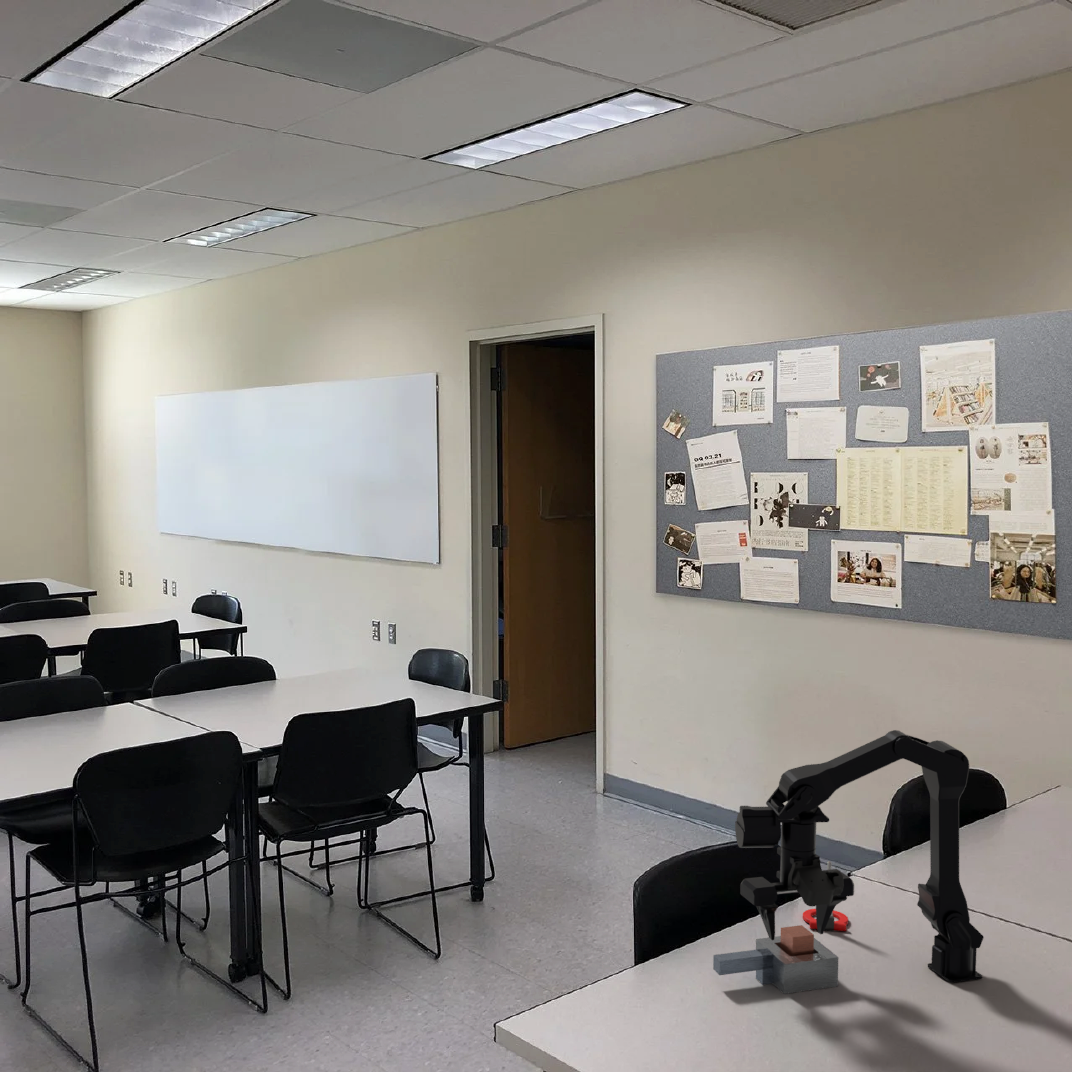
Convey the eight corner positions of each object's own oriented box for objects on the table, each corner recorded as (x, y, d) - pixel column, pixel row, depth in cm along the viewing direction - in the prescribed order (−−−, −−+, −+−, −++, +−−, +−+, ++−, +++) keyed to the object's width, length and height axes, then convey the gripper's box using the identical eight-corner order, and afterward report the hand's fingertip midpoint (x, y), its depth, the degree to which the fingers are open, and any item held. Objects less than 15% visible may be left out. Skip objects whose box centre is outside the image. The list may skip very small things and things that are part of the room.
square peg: (800, 970, 190) (801, 925, 189) (812, 980, 186) (813, 934, 186) (779, 973, 189) (780, 927, 188) (791, 983, 185) (792, 937, 184)
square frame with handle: (807, 960, 194) (807, 932, 193) (837, 986, 184) (838, 957, 184) (703, 973, 188) (703, 945, 188) (729, 1001, 179) (729, 971, 178)
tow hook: (800, 912, 216) (805, 930, 206) (802, 847, 215) (806, 861, 206) (845, 916, 214) (851, 933, 205) (846, 849, 214) (853, 864, 205)
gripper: (771, 868, 176) (769, 963, 177) (874, 857, 181) (871, 950, 182) (739, 844, 186) (737, 935, 187) (837, 835, 192) (835, 923, 193)
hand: (796, 936), depth 187 cm, fingers open, 9 cm apart
